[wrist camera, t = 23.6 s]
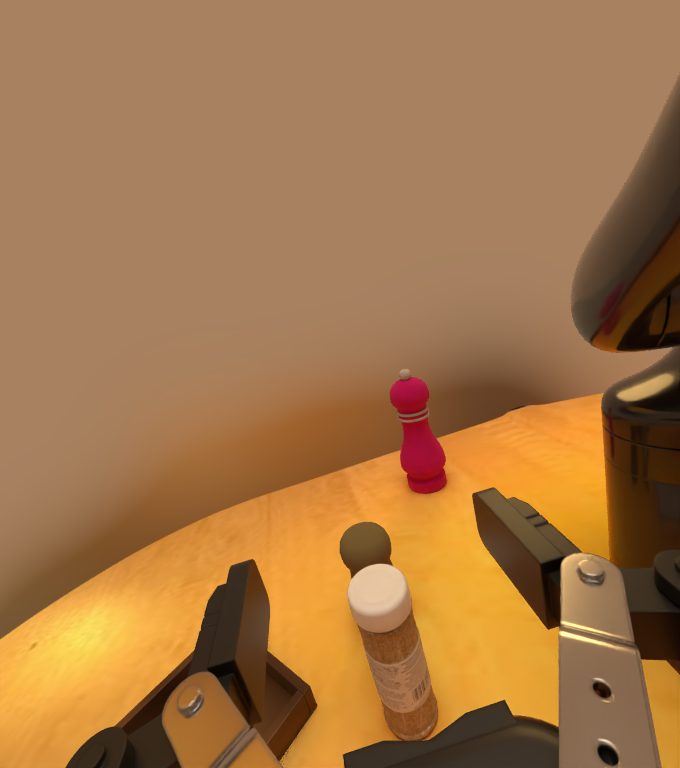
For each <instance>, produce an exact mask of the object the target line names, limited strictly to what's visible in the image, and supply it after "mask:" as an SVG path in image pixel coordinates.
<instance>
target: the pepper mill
mask: <svg viewBox="0 0 680 768" xmlns="http://www.w3.org/2000/svg"><path fill="white" fill-rule="evenodd" d="M399 376H400V378H401V379H400V380H398V381H397V382H396V383H395V384H394V385H393V386H392V388H391V391H390V400H391V403H392V404H393V406H394V407H396V408H397V409H398V410H397V415H398V420H400V421H401V422H402V425H403V430H404V440H403V444H402V448H401V455H400V460H401V466H402V468H403V470H404V471H405V472H406V473H408V474H407V479H408V484H409V487H410V488H411V489H412V490H414V491H415V492H419V493H431V492H435V491H438V490H440V489H441V488H442V487H444V485H445V484H446V481H447V480H446V474H445V470H444V469H443V467H444V465H445V462H446V458H445V454H444V451H443V449H442V447H441V445H440V443H439V442H438V441H437V439H436V438H435V437H434V435H433V433H432V431H431V429H430V427H429V424H428V418H427V417H428V416H429V410H428V408H429V407H428V405H427V404H426V402H427V401H428V399H429V391H428V388H427V386H426V384H425V383H424V382H423V381H422V380H421V379H418V378H414V377H411V373H410V371H409V370H407V369H403V370H401V371H400V373H399Z"/></svg>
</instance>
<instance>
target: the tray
mask: <svg viewBox="0 0 680 768" xmlns="http://www.w3.org/2000/svg"><path fill="white" fill-rule="evenodd" d="M193 654H194V651H193V652H192V653H191V654H190V655H189V656H188V657H187V658H186V659H185V660H184V661H183V662H182V663H181V664H180V665H178V666H177V667H176V668H175V669H174V670H173V671H172V672H171V673H170V674H169V675H168V676H167V677H166V678H165V679H164V680H163V681H162V682H161V683H160V684H159V685H157V686H156V687H155V688H154V689H153V690H152V691H151V692H150V693H149V694H148V695H147V696H146V697H145V698H144V699H143V700H142V701H141V702H140V703H139V704H138V705H136V706H135V707H134V708H133V709H132V710H131V711H130V712H129V713H128V714H127V715H126V716H125V717H124V718H123V719H122V720H121V721H120V722H119V723H118V724H117V725H115V726H114V727H120V728H122V729H123V730H124V731H125V733H126V735H127V736H128V735H130V734H131V733H133V732H134V731H136V730H137V729H139V728H141V727H142V726H144V725H145V724H147V723H148V722H150V721H151V720H153V719H154V718H156V717H157V716H159V715H160V714H161V713H162V712H163V709H164V706H165V704H166V702H167V700H168V698H169V696H170V695H171V694H172V692H173V691H174V690H175V688H176V687H177V686H178V685H179V684H180V683H181V682H183V681H184V680H185V679H186V678H187V676H188V672H189V668H190V665H191V661H192V657H193ZM316 707H317V704H316V701H315V699H314V696H313V693H312V691H311V688H310V686H309V685H308V684H307V683H306V682H304V681H303V680H302V679H301V678H300V677H298V676H297V675H296V674H295V673H294V672H292V671H291V670H290V669H289V668H288V667H286V666H285V665H284V664H283V663H282V662H280V661H279V660H278V659H277V658H276V657H274V656H273V655H272V654H271V653H270V652H268V651H267V661H266V675H265V689H264V702H263V716H262V722H261V723H258V724H254V725H251V726H254V727H255V729H256V730H257V731H258V733H259V734H260V735H261V737H262V738H263V740H264V741H265V743H266V744H267V745H268V747H269V748H270V750H271V751H272V753H273V754H274V755H275V757H276V758H277V760H278V761H279V760H280V759H281V757H282V756H283V754H284V753H285V751H286V750H287V748H288V747H289V746H290V744H291V743H292V741H293V740H294V738H295V737H296V736H297V734H298V733H299V731H300V730H301V728H302V727H303V726H304V724H305V723H306V721H307V720H308V718H309V717H310V715H311V714H312V713H313V711H314V710H315V708H316ZM251 726H250V727H251Z"/></svg>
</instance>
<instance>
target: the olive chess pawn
mask: <svg viewBox="0 0 680 768" xmlns="http://www.w3.org/2000/svg"><path fill="white" fill-rule="evenodd" d="M340 554H341V557H342V560H343V562H344V564H345V565H346V567H347V568H349V569H350V571H351V579H352V578H353V577H354V576H355V575H356V574H357V573H358V572H359V571H360V570H362V569H363V568H365V567H368V566H370V565H374V564H388V565H391V566H393V565H392V562H391V560H390V555H391V542H390V538H389V536H388V534H387V532H386V531H385V530H384V528H382V527H381V526H380V525H378V524H376V523H373V522H362V523H358V524H355V525H353V526H351V527H350V528H349V529H347V530H346V531H345V533H344V534H343V536H342V538H341V541H340ZM358 627H359V626H358ZM359 630H360V629H359Z"/></svg>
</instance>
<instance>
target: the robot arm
mask: <svg viewBox="0 0 680 768" xmlns="http://www.w3.org/2000/svg"><path fill="white" fill-rule="evenodd" d="M571 312H572V317H573V320H574V323H575V326H576V328H577V330H578V331H579V333H580V335H581V336H582V337H583V338H584V340H585V341H587V342H588V343H589V344H590V345H592V346H593V347H596V348H597V349H600V350H603V351H608V352H616V353H626V352H639V351H646V350H655V349H662V348H669V347H673V348H672V349H671V351H669V353H667V354H666V355H665V356H664V357H663V358H662V359H661V360H659V361H658V362H656V363H655V364H653V365H652V366H650V367H648V368H646V369H645V370H643V371H641V372H639V373H636V374H634V375H632V376H630V377H628V378H625V379H623V380H621V381H619V382H617V383H615V384H613V385H612V386H611V387H609V388H608V389H607V390H606V392H605V393H604V395H603V397H602V402H601V410H602V423H603V443H604V457H605V476H606V495H607V514H608V532H609V554H610V561H608V560H607V559H605V558H602V557H600V556H597V555H594V554H589V553H583V552H582V551H581V550H579V549H578V548H577V547H576V546H575V545H574V544H573V543H572V542H571V541H569V540H568V539H567V538H566V537H565V536H564V535H563V534H562V533H560V532H559V531H558V530H557V529H556V528H555V527H554V526H553V525H552V524H550V523H548V521H547V520H546V519H545V518H544V517H543V516H542V515H539V513H538V512H537V511H536V510H535V509H534V508H533V507H532V506H530V505H529V504H528V503H526V502H523V501H521V500H519V499H517V498H515V497H512V498H509V499H506V498H505V497H504V496H503V495H502V494H501V493H500V492H499V491H498V490H497V489H495V488H489V489H486V490H483V491H479V492H476V493H473V496H472V497H473V504H474V510H475V516H476V522H477V527H478V532H479V535H480V537H481V540H482V542H483V544H484V545H485V547H486V548H487V550H488V551H489V552H490V554H491V555H492V556H493V558H494V559H495V560H496V562H497V563H498V564H499V566H500V567H501V568H502V570H503V571H504V572H505V574H506V575H507V576H508V578H509V579H510V580H511V581H512V583H513V584H514V585H515V587H516V588H517V589H518V591H519V592H520V593H521V595H522V596H523V597H524V599H525V600H526V601H527V603H528V604H529V605H530V607H531V608H532V609H533V611H534V612H535V613H536V615H537V616H538V617H539V619H540V620H541V621H542V623H543V624H544V625H545V626H546V628H547V629H548V630H549V629H552V628H555V627H558V626H559V727H557V726H555V725H553V724H550V723H548V722H545V721H543V720H539V719H536V718H532V717H526V716H515V715H512V713H511V711H510V709H509V707H508V705H507V703H506V701H505V700H503V701H500V702H497V703H494V704H491V705H488V706H485V707H482V708H479V709H476V710H473V711H470V712H467V713H465V714H464V715H462V716H461V717H460V718H459V719H457V720H456V721H455V722H453V723H452V724H451V725H449V726H448V727H447V728H445V729H444V730H443V731H441V732H440V733H439V734H437V735H436V736H435V737H433V738H432V739H430V740H425V741H381V742H378V743H375V744H372V745H369V746H367V747H364V748H361V749H358V750H355V751H352V752H349V753H346V754H343V758H344V767H345V768H662V767H661V762H660V757H659V751H658V746H657V741H656V736H655V730H654V725H653V720H652V714H651V709H650V704H649V699H648V693H647V688H646V683H645V677H644V672H643V667H642V662H641V659H646V660H667V661H668V663H669V664H670V665H671V666H672V667H673V668H674V669H675V670H676V671H677V672H678V673H679V674H680V73H679V75H678V77H677V80H676V82H675V84H674V86H673V88H672V90H671V92H670V94H669V97H668V99H667V101H666V103H665V105H664V107H663V109H662V111H661V113H660V116H659V118H658V120H657V122H656V124H655V126H654V128H653V130H652V132H651V134H650V136H649V138H648V141H647V142H646V144H645V146H644V149H643V150H642V152H641V154H640V156H639V158H638V160H637V162H636V164H635V166H634V168H633V169H632V171H631V173H630V175H629V177H628V179H627V181H626V182H625V184H624V186H623V187H622V189H621V190H620V192H619V194H618V195H617V197H616V198H615V200H614V202H613V203H612V205H611V206H610V208H609V210H608V211H607V213H606V214H605V216H604V218H603V219H602V221H601V222H600V224H599V226H598V227H597V229H596V230H595V232H594V234H593V235H592V237H591V239H590V240H589V242H588V244H587V245H586V247H585V249H584V252H583V254H582V256H581V258H580V260H579V262H578V265H577V268H576V272H575V275H574V279H573V284H572V290H571ZM269 620H270V605H269V599H268V595H267V592H266V589H265V586H264V584H263V581H262V578H261V576H260V573H259V571H258V568H257V565H256V563H255V561H254V560H253V559H251V560H248V561H245V562H241V563H238V564H235V565H232V566H231V567H230V569H229V574H228V578H227V582H226V584H223V585H220V586H218V587H217V588H216V590H215V591H214V593H213V594H212V596H211V597H210V599H209V600H208V603H207V607H206V611H205V614H204V618H203V621H202V625H201V631H200V632H199V636H198V639H197V643H196V647H195V650H194V654H193V657H192V661H191V665H190V668H189V672H188V676H187V678H186V679H185V680H184V681H183V682H181V683H180V684H179V685H178V686H177V687H176V688H175V690H174V691H173V692H172V694H171V695H170V696H169V698H168V700H167V702H166V704H165V706H164V709H163V712H162V713H161V714H160V715H159V716H157V717H156V718H154V719H153V720H151V721H150V722H148V723H147V724H145V725H144V726H142V727H141V728H139V729H137V730H136V731H134V732H133V733H131V734H130V735H128V736H127V735H126V733H125V731H124V730H123V729H122V728H120V727H109V728H106V729H104V730H102V731H100V732H98V733H97V734H95V735H94V736H93V737H91V738H90V739H89V740H88V741H87V742H85V743H84V744H83V745H82V746H81V747H80V748H79V750H78V751H77V752H76V753H75V754H74V756H73V757H72V758H71V760H70V761H69V763H68V765H67V766H66V768H283V767H282V765H281V764H280V763H279V761H278V760H277V758H276V757H275V755H274V754H273V753H272V751H271V750H270V748H269V747H268V745H267V744H266V743H265V741H264V740H263V738H262V737H261V735H260V734H259V733H258V731H257V730H256V729H255V727H254V726H251V725H254V724H258V723H261V722H262V716H263V702H264V689H265V675H266V661H267V648H268V634H269ZM250 726H251V727H250Z"/></svg>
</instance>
